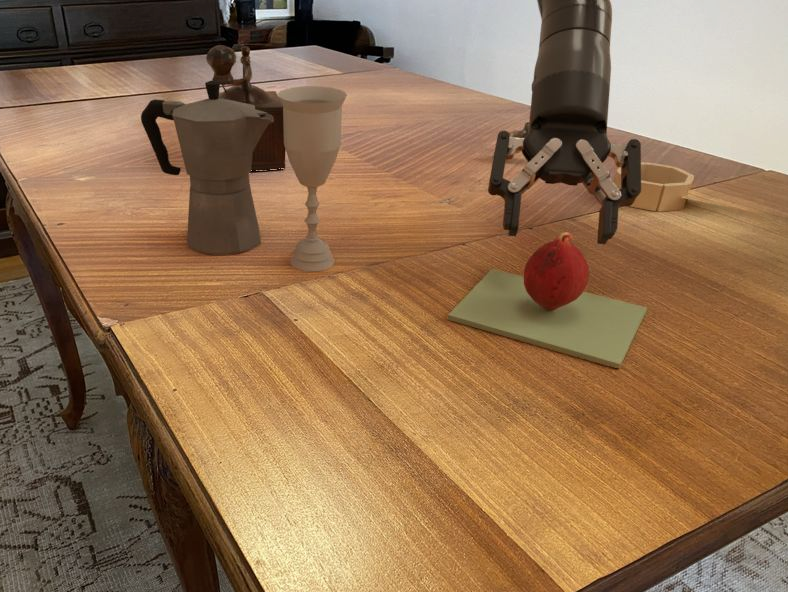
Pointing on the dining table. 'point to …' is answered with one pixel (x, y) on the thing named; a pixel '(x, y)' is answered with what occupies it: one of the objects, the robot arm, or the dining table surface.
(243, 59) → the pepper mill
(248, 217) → the coffeepot
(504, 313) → the mat
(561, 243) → the onion
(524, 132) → the vase
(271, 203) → the dining table surface
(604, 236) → the robot arm
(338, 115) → the chalice
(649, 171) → the octagonal bowl
